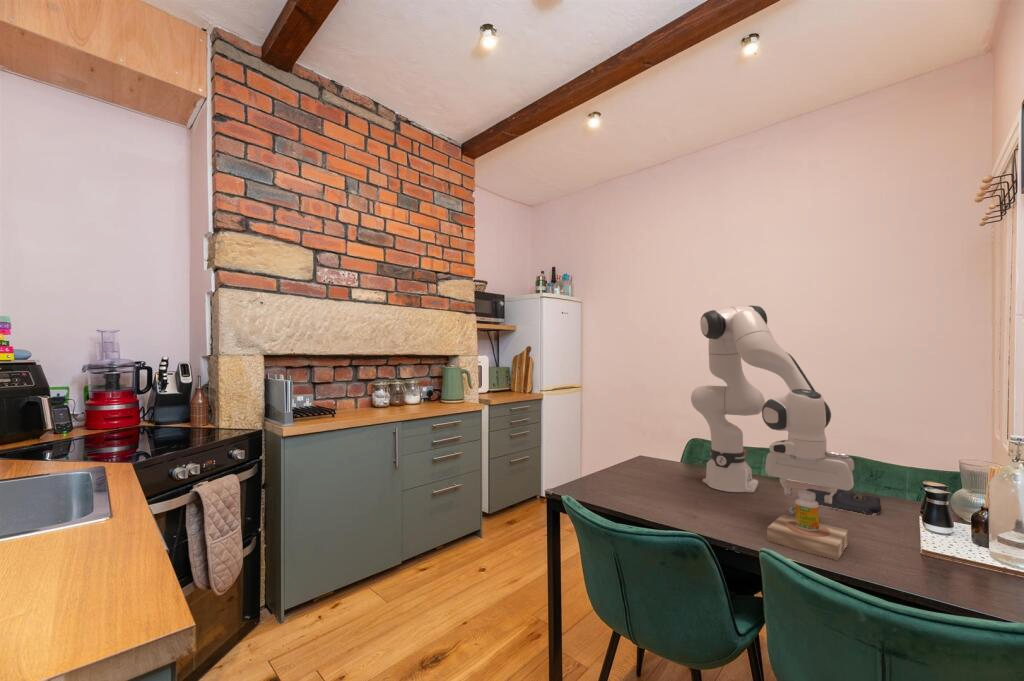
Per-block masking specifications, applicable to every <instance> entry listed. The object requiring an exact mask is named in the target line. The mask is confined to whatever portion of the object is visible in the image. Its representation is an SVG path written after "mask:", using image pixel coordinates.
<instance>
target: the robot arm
mask: <svg viewBox="0 0 1024 681" xmlns="http://www.w3.org/2000/svg"><path fill="white" fill-rule="evenodd" d="M700 330H701V333H702V335H703V336H704V337H705V338H706V339H708V362H709V363H708V365H709V366H708V367H709V371H710V373H711V374H712V375H713V376H714V377H715V378H718V379H720V380H722V381H723V382H724V383H725V384H726V385H702V386H697V387H695V389H693V391H692V393H691V395H690V402H691V404H692V407H693V408H694V409H695V410H696V411H697V412H699V414H700V415H702V417H703V418H704V419H705V421H706V422H707V424H708V426H709V431H710V440H711V448H710V449H709V450H710V451H709V456H710V457H709V458H710V459H709V460H708V461H707V462H706V471H705V473H706V475H705V478H702V482H703V483H704V484H706V485H707V486H708V487H710V488H711V489H714V490H717V491H718V490H719V491H722V492H727V493H728V492H729V493H755V492H756V489H757V487H758V485H759V480H757V479H755V478H753V476H752V475H753V474H752V472H753V471H752V468H751V467H750V465H749V464H748V463H747V462H746V456H747V450H745V449H744V434H743V431H742V430H741V428H740V427H738V426H737V425H736V424H734V423H732V422H730V421H728V419H727V418H726V415H728V416H729V415H730V416H731V415H732V416H741V417H742V416H743V417H744V416H745V417H747V416H755V415H759V414H761V418H762V420H763V422H764V423H765V425H766V426H767V427H768V428H769V429H771V430H774V431H779V432H780V431H781V432H782V431H783V432H784V431H787V432H788V435H787V439H784V440H777V441H774V442H772V443H771V444H769V447H768V448H769V452H768V453H767V455H766V458H765V466H764V468H765V470H764V471H765V473H766V474H767V476H769V477H774V478H779V483H780V484H781V486H782V488H783V490H784V492H783V493H784V495H785V496H786V495H787V496H791V495H792V494H793V492H792V489H793V488H792V487H789V485H788V484H787V481H788V480H790V481H795V482H801V483H806V484H810V485H815V486H821V487H826V488H829V490H828V492H830V493H831V494H830V495H825V496H824V499H825V500H824V502H825V503H829V504H831V503H832V496H833V495H834V494H836V493H837V491H838V490H842V491H846V492H848V491H850V490H852V489H853V487H854V485H855V484H854V475H853V471H854V470H855V462H854V459H853V458H852V457H851V456H849V455H848V454H846V453H838V452H835V451H833V452H832V451H828V450H827V436H826V433H825V429H826V428H827V427H828V425H829V424H830V423H831V419H832V412H831V408H830V407H829V405H828V404H827V402H826V401H825V400H824V398H823V396H822V393H819V392H817V391H816V390H815V387H814V386H813V385H812V383H811V382H810V380H809V379H808V377H807V376H806V374H805V373H804V371H803V370H802V368H801V367H800V365H799V364H798V363H797V361H796V359H795V358H794V357H793V356H792V355H791V354H790V353H788V352H787V351H786V350H785V349H784V348H782V347H781V346H780V345H779V344H778V342H777V341H776V340H775V338H774V336H773V334H772V332H771V330H770V328H769V326H768V315H767V313H766V310H765V309H764V308H763V307H761V306H759V305H747V306H746V305H744V306H743V305H741V306H730V307H726V308H720V309H716V310H714V309H713V310H707V311H706V312H704V313H703V314H702V316H701V317H700ZM742 361H744V362H745V363H746V364H748V365H750V366H752V367H754V368H757V369H762V370H765V371H768V372H771V373H773V374H776V375H777V376H778V377H780V378H781V379H783V381H784V382H785V384H786V385H787V387H788V389H789V391H788V393H787V394H785V395H783V396H780V397H775V398H770V399H768V400H767V401H766V400H765V396H764V394H763V393H762V392H761V391H760V390H759V389H758V388H757V387H755V386H754V385H752V384H751V383H750V382H749V381H748V379H747V378H746V376H745V374H744V371H743V365H742Z"/></svg>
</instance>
